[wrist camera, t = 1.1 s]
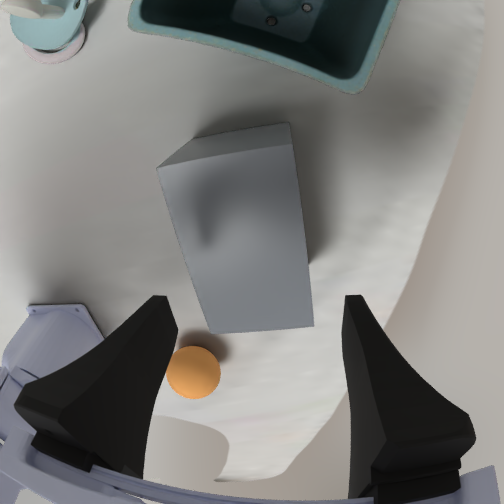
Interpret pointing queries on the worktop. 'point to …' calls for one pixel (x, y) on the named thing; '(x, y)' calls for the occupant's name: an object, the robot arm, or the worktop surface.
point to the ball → (193, 372)
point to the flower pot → (281, 32)
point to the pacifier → (47, 27)
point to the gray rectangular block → (241, 228)
